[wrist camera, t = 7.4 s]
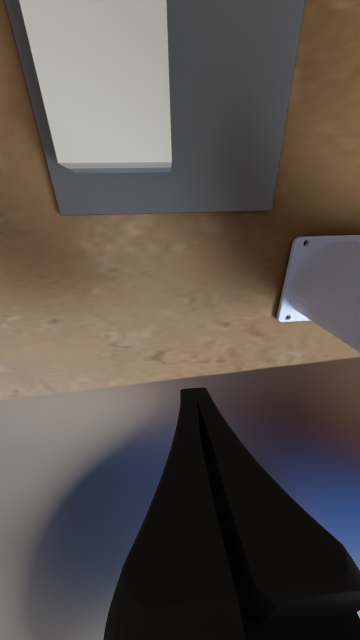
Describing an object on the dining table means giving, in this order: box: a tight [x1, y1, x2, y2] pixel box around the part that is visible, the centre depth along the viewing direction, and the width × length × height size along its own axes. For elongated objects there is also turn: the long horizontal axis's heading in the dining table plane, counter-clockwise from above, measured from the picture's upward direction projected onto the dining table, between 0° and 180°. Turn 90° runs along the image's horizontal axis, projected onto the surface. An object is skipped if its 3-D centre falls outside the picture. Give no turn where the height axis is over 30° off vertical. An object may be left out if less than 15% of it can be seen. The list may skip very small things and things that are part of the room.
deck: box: [19, 0, 172, 173], centre depth 10 cm, size 2×9×6 cm
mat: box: [5, 0, 305, 216], centre depth 12 cm, size 16×14×1 cm
